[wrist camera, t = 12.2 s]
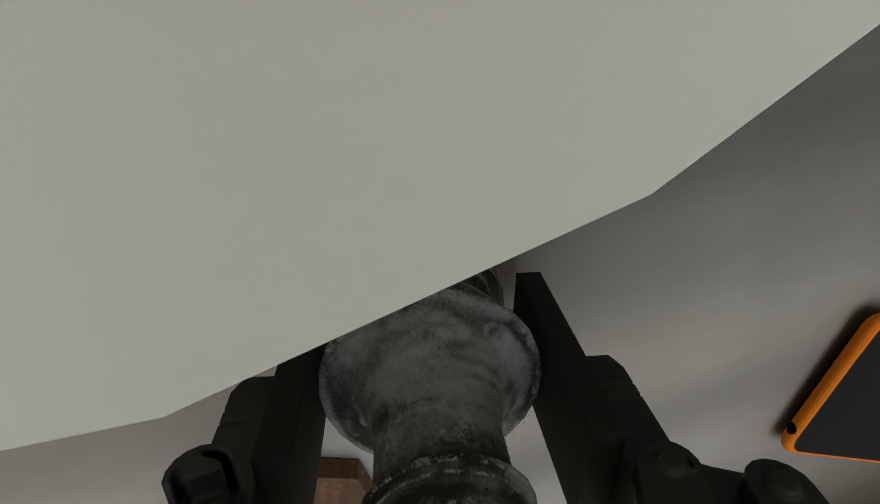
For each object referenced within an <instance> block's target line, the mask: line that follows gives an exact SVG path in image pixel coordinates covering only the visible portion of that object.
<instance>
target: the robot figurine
mask: <svg viewBox="0 0 880 504" xmlns="http://www.w3.org/2000/svg"><path fill="white" fill-rule="evenodd" d="M372 487H373V482H372V480H371V479H370V477H369V475H368V474H367V472H366V471H365V469H364V467H363V466H362V464H361V463H360V461H359V460H350V459H331V458H320V463H319V470H318V477H317V484H316V491H315V499H314V504H361V502H362V499H363V497H364V496H365V494H366V493H367V492H368V491H369V490H370V489H371V488H372Z"/></svg>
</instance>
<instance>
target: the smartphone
mask: <svg viewBox="0 0 880 504" xmlns="http://www.w3.org/2000/svg"><path fill="white" fill-rule="evenodd" d="M781 443H782V445H783V447H784V448H785V449H786V450H787V451H789V452H792V453H800V454H809V455H817V456H826V457H835V458H843V459H852V460H860V461H869V462H877V463H880V313H877V314H874V315H872V316H870V317H868V318H867V319H866V320H865V321H864V322H863V323H862V324H861V326H860V327H859V328H858V330H857V331H856V333H855V334H854V335H853V337H852V338H851V339H850V341H849V342H848V344H847V345H846V346H845V348H844V349H843V350H842V352H841V353H840V355H839V356H838V357H837V359H836V360H835V361H834V363H833V364H832V366H831V367H830V368H829V370H828V371H827V372H826V374H825V375H824V377H823V378H822V379H821V381H820V382H819V383H818V385H817V386H816V388H815V389H814V390H813V392H812V393H811V394H810V396H809V397H808V399H807V400H806V401H805V403H804V404H803V405H802V407H801V408H800V410H799V411H798V412H797V414H796V415H795V416H794V418H793V419H792V421H791V422H790V423H789V425H788V426H787V427H786V429H785V430H784V432H783V434H782V436H781Z"/></svg>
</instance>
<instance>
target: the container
mask: <svg viewBox="0 0 880 504" xmlns="http://www.w3.org/2000/svg"><path fill="white" fill-rule="evenodd" d="M879 24H880V0H0V451H3V450H8V449H12V448H17V447H22V446H27V445H32V444H37V443H41V442H46V441H51V440H56V439H61V438H66V437H70V436H75V435H80V434H85V433H90V432H95V431H99V430H104V429H109V428H114V427H119V426H124V425H128V424H133V423H138V422H143V421H148V420H153V419H157V418H162V417H164V416H167V415H169V414H171V413H173V412H175V411H178V410H180V409H182V408H184V407H186V406H188V405H191V404H193V403H195V402H197V401H199V400H202V399H204V398H206V397H208V396H210V395H213V394H215V393H217V392H219V391H221V390H224V389H226V388H228V387H230V386H232V385H234V384H237V383H239V382H241V381H243V380H245V379H248V378H250V377H252V376H254V375H256V374H259V373H261V372H263V371H265V370H267V369H270V368H272V367H274V366H276V365H278V364H281V363H283V362H285V361H287V360H289V359H291V358H294V357H296V356H298V355H300V354H302V353H305V352H307V351H309V350H311V349H313V348H316V347H318V346H320V345H322V344H324V343H327V342H329V341H331V340H333V339H335V338H337V337H340V336H342V335H344V334H346V333H348V332H351V331H353V330H355V329H357V328H359V327H362V326H364V325H366V324H368V323H370V322H373V321H375V320H377V319H379V318H381V317H383V316H386V315H388V314H390V313H392V312H394V311H397V310H399V309H401V308H403V307H405V306H408V305H410V304H412V303H414V302H416V301H419V300H421V299H423V298H425V297H427V296H429V295H432V294H434V293H436V292H438V291H440V290H443V289H445V288H447V287H449V286H451V285H454V284H456V283H458V282H460V281H462V280H465V279H467V278H469V277H471V276H473V275H475V274H478V273H480V272H482V271H484V270H486V269H489V268H491V267H493V266H495V265H497V264H500V263H502V262H504V261H506V260H508V259H511V258H513V257H515V256H517V255H519V254H521V253H524V252H526V251H528V250H530V249H532V248H535V247H537V246H539V245H541V244H543V243H546V242H548V241H550V240H552V239H554V238H557V237H559V236H561V235H563V234H565V233H568V232H570V231H572V230H574V229H576V228H578V227H581V226H583V225H585V224H587V223H589V222H592V221H594V220H596V219H598V218H600V217H603V216H605V215H607V214H609V213H611V212H614V211H616V210H618V209H620V208H622V207H624V206H627V205H629V204H631V203H633V202H635V201H638V200H640V199H642V198H644V197H646V196H649V195H651V194H652V193H653V192H655V191H656V190H657V189H659V188H660V187H661V186H663V185H664V184H665V183H667V182H668V181H669V180H671V179H672V178H674V177H675V176H676V175H678V174H679V173H680V172H682V171H683V170H684V169H686V168H687V167H688V166H690V165H691V164H692V163H694V162H695V161H696V160H698V159H699V158H700V157H702V156H703V155H704V154H706V153H707V152H708V151H710V150H711V149H712V148H714V147H715V146H716V145H718V144H719V143H721V142H722V141H723V140H725V139H726V138H727V137H729V136H730V135H731V134H733V133H734V132H735V131H737V130H738V129H739V128H741V127H742V126H743V125H745V124H746V123H747V122H749V121H750V120H751V119H753V118H754V117H755V116H757V115H758V114H759V113H761V112H762V111H763V110H765V109H766V108H768V107H769V106H770V105H772V104H773V103H774V102H776V101H777V100H778V99H780V98H781V97H782V96H784V95H785V94H786V93H788V92H789V91H790V90H792V89H793V88H794V87H796V86H797V85H798V84H800V83H801V82H802V81H804V80H805V79H806V78H808V77H809V76H810V75H812V74H813V73H814V72H816V71H817V70H819V69H820V68H821V67H823V66H824V65H825V64H827V63H828V62H829V61H831V60H832V59H833V58H835V57H836V56H837V55H839V54H840V53H841V52H843V51H844V50H845V49H847V48H848V47H849V46H851V45H852V44H853V43H855V42H856V41H857V40H859V39H860V38H861V37H863V36H864V35H866V34H867V33H868V32H870V31H871V30H872V29H874V28H875V27H876V26H878V25H879Z"/></svg>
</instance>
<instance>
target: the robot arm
mask: <svg viewBox="0 0 880 504" xmlns="http://www.w3.org/2000/svg"><path fill="white" fill-rule="evenodd" d="M513 312H514V313H515V314H516V315H517V316H518V317H519V319H520V320H521V321H522V322H523V323H524V324H525V325H526V326H527V327H528V328H529V329H530V331H531V334H532V336H533V338H534V340H535V343H536V345H537V347H538V349H539V351H540V356H541V369H542V376H541V382H540V386H539V390H538V394H537V398H536V399H535V401H534V403H533V404H532V405H533V408H534V411H535V413H536V416H537V419H538V422H539V425H540V428H541V430H542V433H543V436H544V439H545V442H546V445H547V448H548V450H549V453H550V456H551V459H552V462H553V465H554V467H555V470H556V473H557V476H558V479H559V482H560V484H561V487H562V490H563V493H564V496H565V499H566V501H567V504H829V503H828V501H827V500H826V499H825V498H824V496H823V495H822V494H821V493H820V491H819V490H818V489H817V487H816V486H815V485H814V484H813V483H812V482H811V481H810V480H809V479H808V478H807V477H806V476H805V475H804V474H802V473H801V472H799V471H798V470H796V469H794V468H793V467H791V466H789V465H787V464H784V463H781V462H779V461H776V460H770V459H758V460H754V461H751V462H750V463H749V464H748V465H747V466H746V468H745V470H744V473H740V472H735V471H730V470H725V469H720V468H715V467H711V466H707V465H704V464H701V463H700V462H699V460H698V459H697V458H696V457H695V456H694V455H693V454H692V453H691V452H690V451H689V450H688V449H686V448H684V447H682V446H681V445H679V444H677V443H674V442H671V441H670V440H669V439H668V437H667V436H666V434H665V432H664V431H663V429H662V428H661V426H660V424H659V423H658V421H657V420H656V418H655V417H654V415H653V413H652V412H651V410H650V409H649V407H648V405H647V404H646V402H645V401H644V399H643V397H642V396H640V393H639V391H638V389H637V388H636V386H635V385H634V384H633V383H632V380H631V378H630V377H629V375H628V374H627V372H626V370H625V369H624V367H623V366H621V365H620V364H619V363H618V362H616V361H615V360H614V359H613V358H611V357H610V356H609V355H599V356H585V354H584V352H583V350H582V348H581V346H580V345H579V343H578V341H577V339H576V337H575V335H574V334H573V332H572V330H571V328H570V326H569V324H568V323H567V321H566V319H565V317H564V315H563V313H562V312H561V310H560V308H559V306H558V304H557V302H556V301H555V299H554V297H553V295H552V293H551V291H550V290H549V288H548V286H547V284H546V282H545V280H544V279H543V277H542V275H541V273H540V272H527V273H516V284H515V295H514V307H513ZM329 342H330V341H329ZM329 342H327V343H324V344H322V345H320V346H318V347H316V348H313V349H311V350H309V351H307V352H305V353H302V354H300V355H298V356H296V357H294V358H291V359H289V360H287V361H285V362H283V363H281V364H278V366H277V369H276V373H275V376H267V377H251V378H248V379H245V380H243V381H242V382H241V383H240V384H239V385H238V386H237V387H236V388H235V389H234V390H233V391H232V392H231V394H230V397H229V400H228V402H227V405H226V407H225V412H224V413H223V415H222V418H221V420H220V426H218V428H217V431H216V433H215V436H214V439H213V441H212V444H207V445H201V446H198V447H196V448H193V449H191V450H189V451H187V452H185V453H184V454H182V455H181V456H180V457H178V458H177V459H176V460H174V461H173V463H172V464H171V465H170V466H169V468H168V469H167V470H166V471H165V474H164V477H163V480H162V483H161V484H162V487H163V489H164V492H165V495H166V497H167V500H168V503H169V504H314V499H315V491H316V484H317V477H318V470H319V463H320V456H321V449H322V442H323V435H324V427H325V420H326V415H325V412H324V409H323V406H322V404H321V401H320V398H319V391H318V370H319V367H320V364H321V361H322V358H323V355H324V352H325V349H326V346H327V345H328V343H329Z"/></svg>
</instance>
